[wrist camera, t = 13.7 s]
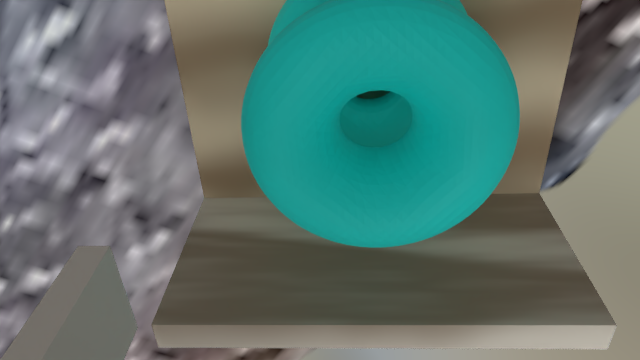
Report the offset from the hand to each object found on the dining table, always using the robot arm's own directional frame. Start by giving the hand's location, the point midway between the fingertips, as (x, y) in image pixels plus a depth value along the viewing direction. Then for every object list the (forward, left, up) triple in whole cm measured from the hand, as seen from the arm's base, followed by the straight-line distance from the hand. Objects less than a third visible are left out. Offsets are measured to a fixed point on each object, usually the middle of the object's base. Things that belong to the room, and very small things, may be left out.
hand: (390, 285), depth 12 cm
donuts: (0, 0, -17) cm, 17 cm away
